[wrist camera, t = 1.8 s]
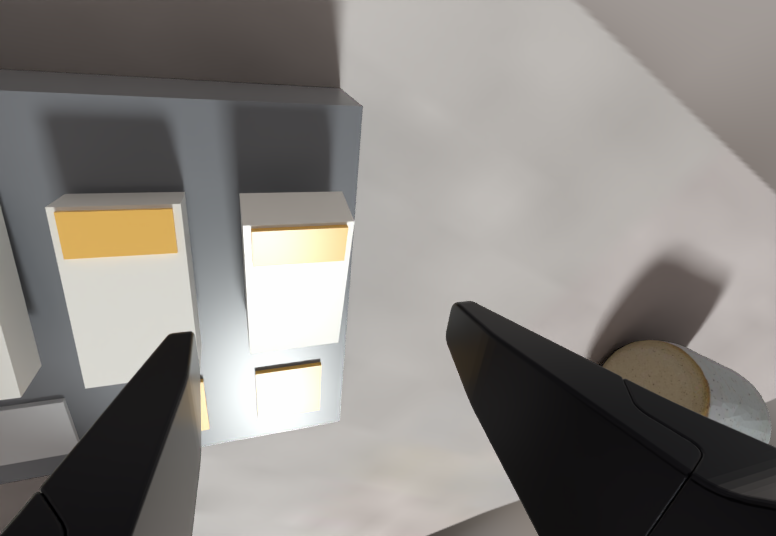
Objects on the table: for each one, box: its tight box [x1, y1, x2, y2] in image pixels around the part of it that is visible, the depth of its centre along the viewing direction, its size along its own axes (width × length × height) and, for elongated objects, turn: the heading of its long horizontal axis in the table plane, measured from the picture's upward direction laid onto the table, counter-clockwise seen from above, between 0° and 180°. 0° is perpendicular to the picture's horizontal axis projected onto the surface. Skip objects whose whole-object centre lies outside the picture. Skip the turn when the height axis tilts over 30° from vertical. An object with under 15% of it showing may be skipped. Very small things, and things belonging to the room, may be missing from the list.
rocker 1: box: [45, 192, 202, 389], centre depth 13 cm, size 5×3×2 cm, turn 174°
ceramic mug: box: [602, 340, 771, 444], centre depth 30 cm, size 11×8×8 cm
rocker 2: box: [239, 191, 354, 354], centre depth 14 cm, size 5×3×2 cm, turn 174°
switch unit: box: [0, 69, 363, 484], centre depth 16 cm, size 14×14×3 cm
